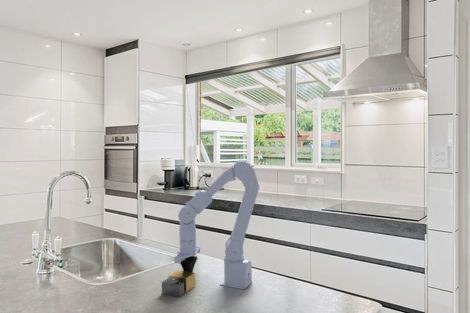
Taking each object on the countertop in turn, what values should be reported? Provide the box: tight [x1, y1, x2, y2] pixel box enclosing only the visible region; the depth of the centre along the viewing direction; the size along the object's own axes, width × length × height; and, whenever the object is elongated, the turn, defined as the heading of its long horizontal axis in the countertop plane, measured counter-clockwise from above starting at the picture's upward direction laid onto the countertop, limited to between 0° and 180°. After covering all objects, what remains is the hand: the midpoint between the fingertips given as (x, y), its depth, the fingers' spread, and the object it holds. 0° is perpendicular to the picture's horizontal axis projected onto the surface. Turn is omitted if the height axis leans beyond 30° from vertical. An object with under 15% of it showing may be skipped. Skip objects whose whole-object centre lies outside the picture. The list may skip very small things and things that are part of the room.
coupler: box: [161, 277, 185, 298], centre depth 124 cm, size 7×9×5 cm
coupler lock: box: [168, 269, 196, 294], centre depth 127 cm, size 7×6×5 cm
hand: (188, 277), depth 131 cm, fingers closed
